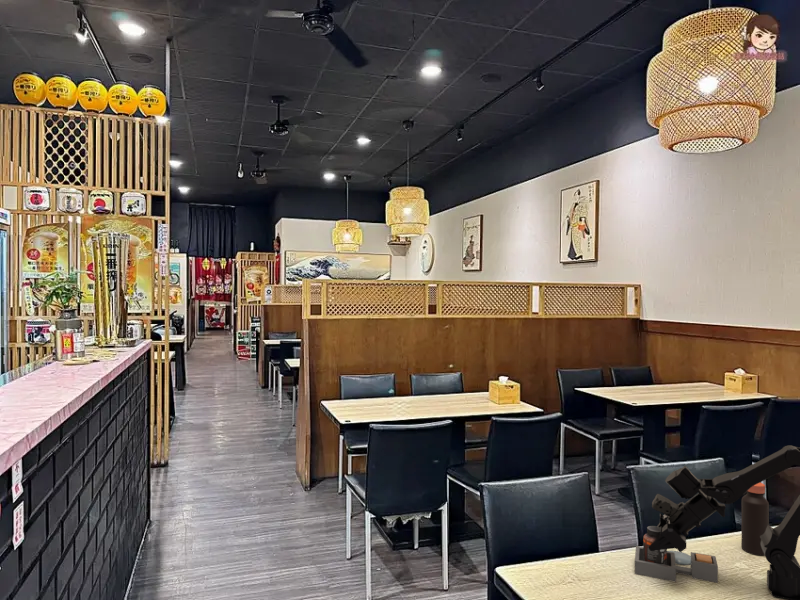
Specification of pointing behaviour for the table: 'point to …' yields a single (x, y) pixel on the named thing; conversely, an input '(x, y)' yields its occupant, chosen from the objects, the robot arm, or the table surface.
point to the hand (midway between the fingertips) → (649, 544)
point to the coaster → (681, 558)
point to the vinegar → (754, 519)
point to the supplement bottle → (653, 556)
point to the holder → (676, 568)
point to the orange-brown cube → (703, 558)
